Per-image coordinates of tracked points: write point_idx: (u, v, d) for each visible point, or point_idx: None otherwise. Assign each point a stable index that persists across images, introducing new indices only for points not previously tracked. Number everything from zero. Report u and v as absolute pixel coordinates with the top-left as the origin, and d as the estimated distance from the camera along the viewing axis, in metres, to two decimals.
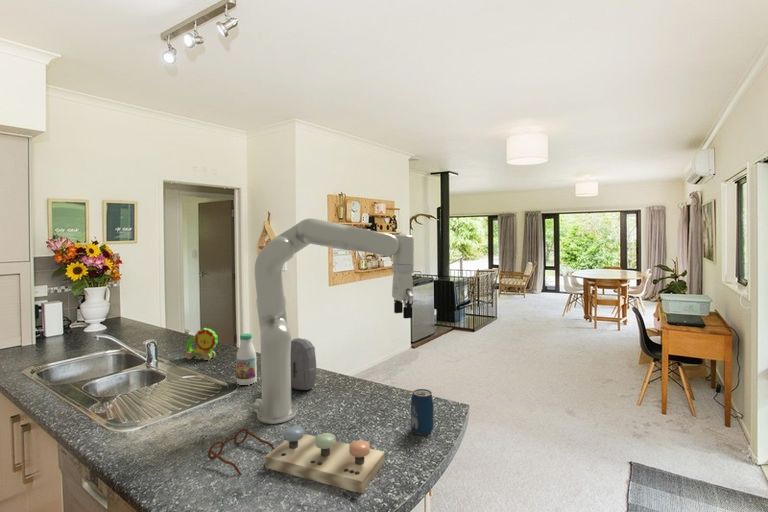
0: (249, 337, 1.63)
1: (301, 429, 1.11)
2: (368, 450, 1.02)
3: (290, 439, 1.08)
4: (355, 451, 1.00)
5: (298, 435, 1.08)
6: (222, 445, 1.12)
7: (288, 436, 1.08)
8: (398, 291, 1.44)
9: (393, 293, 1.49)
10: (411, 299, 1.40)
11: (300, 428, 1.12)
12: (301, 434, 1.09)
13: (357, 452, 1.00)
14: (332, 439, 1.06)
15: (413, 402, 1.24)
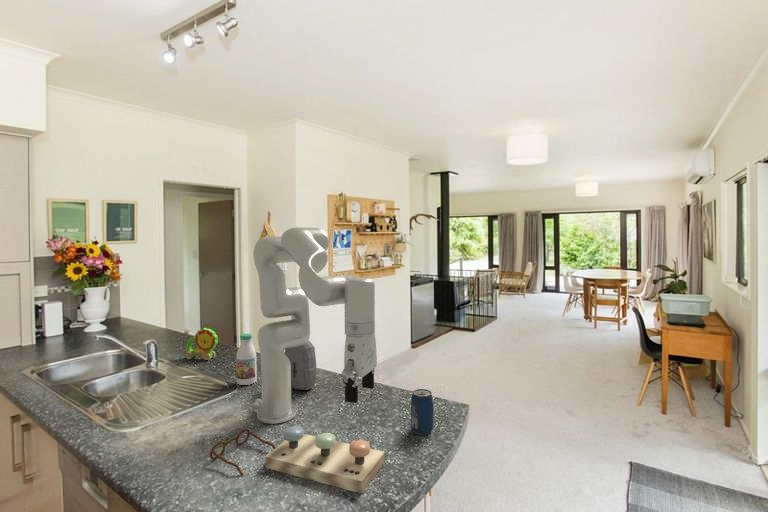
0: (249, 337, 1.63)
1: (301, 429, 1.11)
2: (368, 450, 1.02)
3: (290, 439, 1.08)
4: (355, 451, 1.00)
5: (298, 435, 1.08)
6: (224, 446, 1.11)
7: (288, 436, 1.08)
8: (374, 356, 1.03)
9: (365, 368, 0.98)
10: None
11: (300, 428, 1.12)
12: (301, 434, 1.09)
13: (357, 452, 1.00)
14: (332, 439, 1.06)
15: (413, 402, 1.24)
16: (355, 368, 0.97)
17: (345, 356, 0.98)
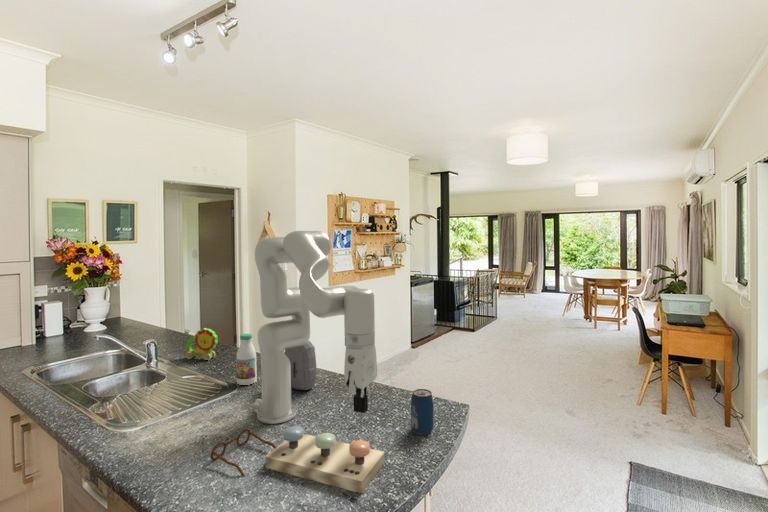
0: (249, 337, 1.63)
1: (301, 429, 1.11)
2: (368, 450, 1.02)
3: (290, 439, 1.08)
4: (355, 451, 1.00)
5: (298, 435, 1.08)
6: (225, 446, 1.11)
7: (288, 436, 1.08)
8: (374, 367, 1.03)
9: (365, 380, 0.98)
10: None
11: (300, 428, 1.12)
12: (301, 434, 1.09)
13: (357, 452, 1.00)
14: (332, 439, 1.06)
15: (413, 402, 1.24)
16: (355, 380, 0.96)
17: (345, 368, 0.97)
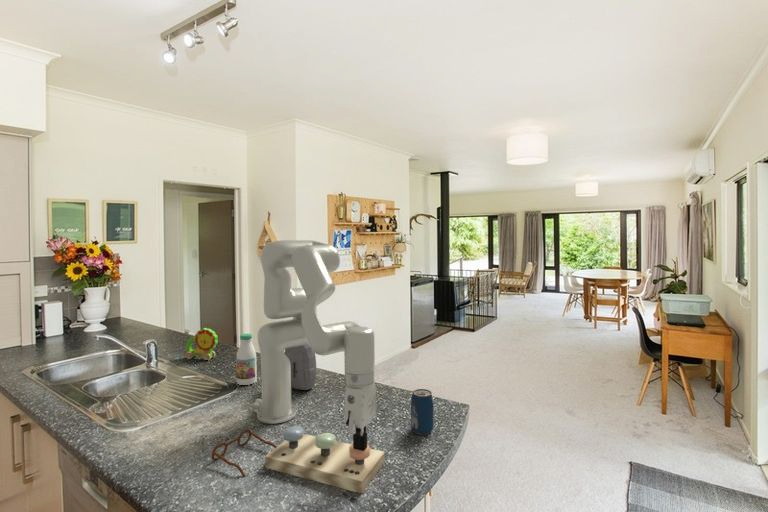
0: (249, 337, 1.63)
1: (301, 429, 1.11)
2: (368, 453, 1.02)
3: (290, 439, 1.08)
4: (355, 454, 1.00)
5: (298, 435, 1.08)
6: (226, 446, 1.11)
7: (288, 436, 1.08)
8: (374, 405, 1.04)
9: (365, 419, 0.99)
10: None
11: (300, 428, 1.12)
12: (301, 434, 1.09)
13: (357, 455, 1.00)
14: (332, 439, 1.06)
15: (413, 402, 1.24)
16: (355, 420, 0.97)
17: (345, 407, 0.98)
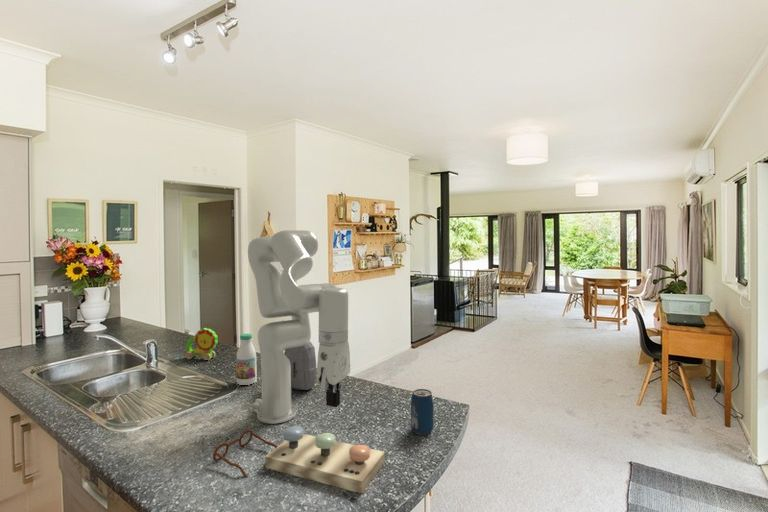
0: (249, 337, 1.63)
1: (301, 429, 1.11)
2: (368, 455, 1.02)
3: (290, 439, 1.08)
4: (355, 456, 1.00)
5: (298, 435, 1.08)
6: (227, 447, 1.11)
7: (288, 436, 1.08)
8: (347, 363, 1.06)
9: (338, 376, 1.01)
10: None
11: (300, 428, 1.12)
12: (301, 434, 1.09)
13: (357, 457, 1.00)
14: (332, 439, 1.06)
15: (413, 402, 1.24)
16: (327, 376, 0.99)
17: (318, 364, 1.01)
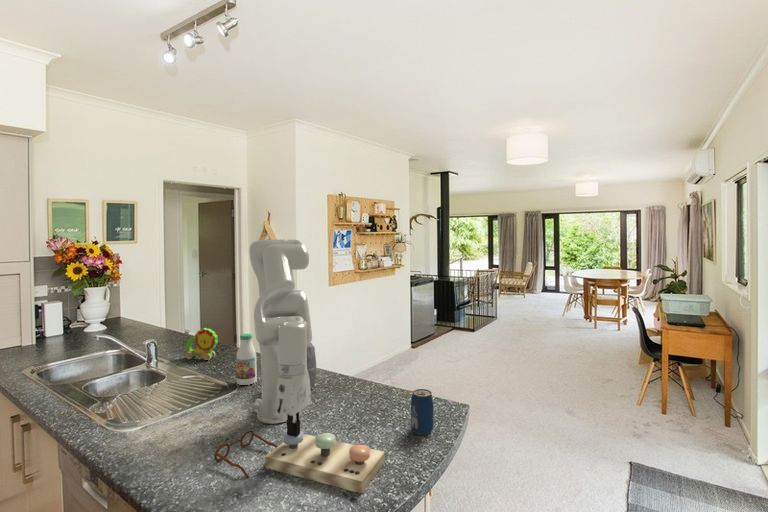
0: (249, 337, 1.63)
1: (301, 432, 1.11)
2: (368, 455, 1.02)
3: (290, 443, 1.08)
4: (355, 456, 1.00)
5: (298, 439, 1.08)
6: (228, 447, 1.10)
7: (288, 440, 1.08)
8: (307, 394, 1.11)
9: (296, 407, 1.06)
10: None
11: (300, 431, 1.12)
12: (301, 438, 1.09)
13: (357, 457, 1.00)
14: (332, 439, 1.06)
15: (413, 402, 1.24)
16: (285, 407, 1.04)
17: (277, 396, 1.06)
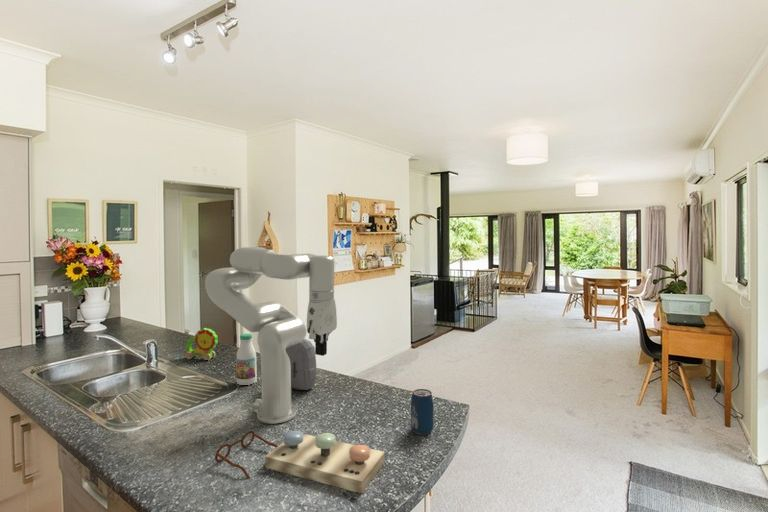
0: (249, 337, 1.63)
1: (301, 433, 1.11)
2: (368, 455, 1.02)
3: (290, 444, 1.08)
4: (355, 456, 1.00)
5: (298, 440, 1.08)
6: (229, 448, 1.10)
7: (288, 441, 1.08)
8: (333, 320, 1.26)
9: (323, 328, 1.21)
10: None
11: (300, 432, 1.12)
12: (301, 438, 1.09)
13: (357, 457, 1.00)
14: (332, 439, 1.06)
15: (413, 402, 1.24)
16: (314, 327, 1.20)
17: (307, 318, 1.21)
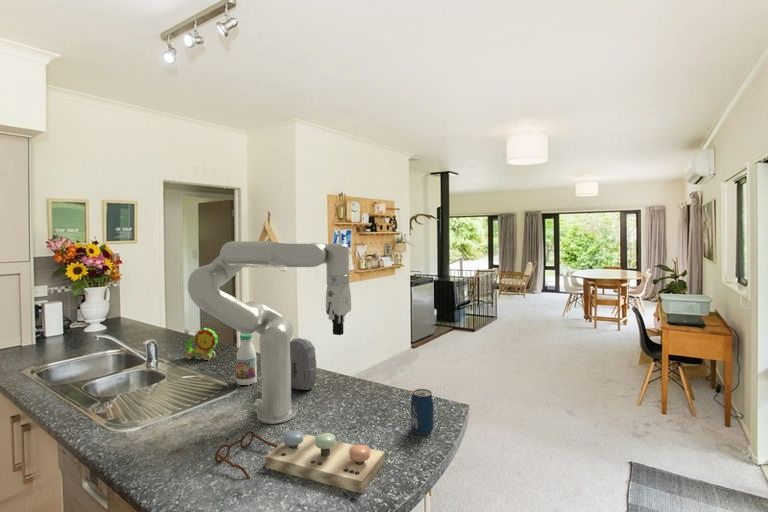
0: (249, 337, 1.63)
1: (301, 433, 1.11)
2: (368, 455, 1.02)
3: (290, 444, 1.08)
4: (355, 456, 1.00)
5: (298, 440, 1.08)
6: (229, 448, 1.10)
7: (288, 441, 1.08)
8: (349, 302, 1.38)
9: (341, 309, 1.33)
10: None
11: (300, 432, 1.12)
12: (301, 438, 1.09)
13: (357, 457, 1.00)
14: (332, 439, 1.06)
15: (413, 402, 1.24)
16: (333, 308, 1.31)
17: (326, 300, 1.32)
